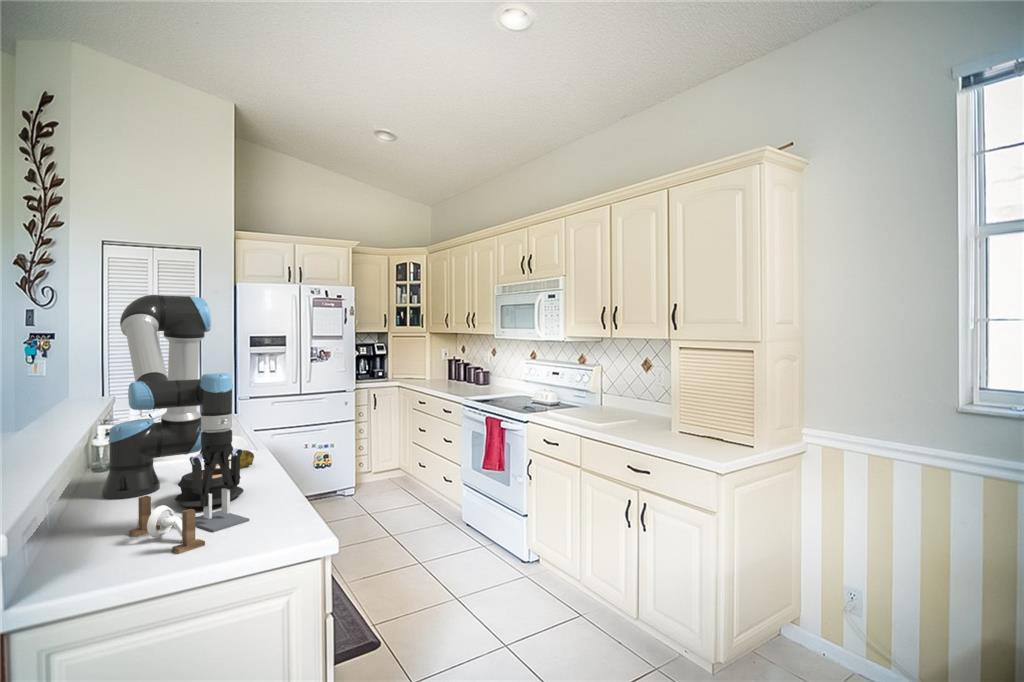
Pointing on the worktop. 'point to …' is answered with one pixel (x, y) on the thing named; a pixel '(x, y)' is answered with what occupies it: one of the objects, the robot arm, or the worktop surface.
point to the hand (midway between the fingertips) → (216, 514)
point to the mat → (219, 521)
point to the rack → (144, 515)
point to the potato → (246, 459)
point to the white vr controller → (163, 521)
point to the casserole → (217, 485)
